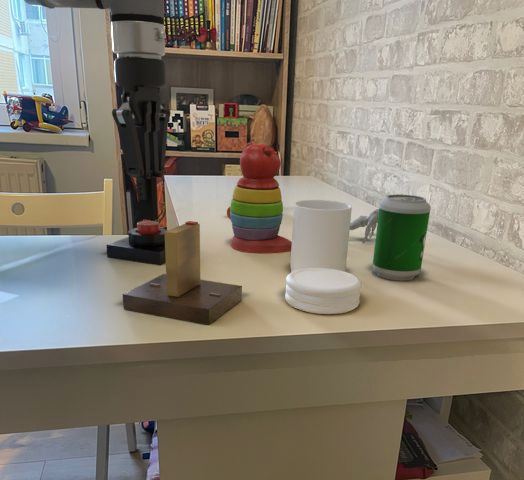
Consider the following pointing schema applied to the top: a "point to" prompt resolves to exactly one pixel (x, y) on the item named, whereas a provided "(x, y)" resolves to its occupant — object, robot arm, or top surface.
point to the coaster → (322, 290)
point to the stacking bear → (258, 203)
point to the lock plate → (183, 300)
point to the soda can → (400, 236)
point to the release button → (148, 227)
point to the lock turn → (182, 258)
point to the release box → (139, 248)
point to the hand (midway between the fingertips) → (148, 218)
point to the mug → (320, 234)
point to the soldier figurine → (366, 223)
